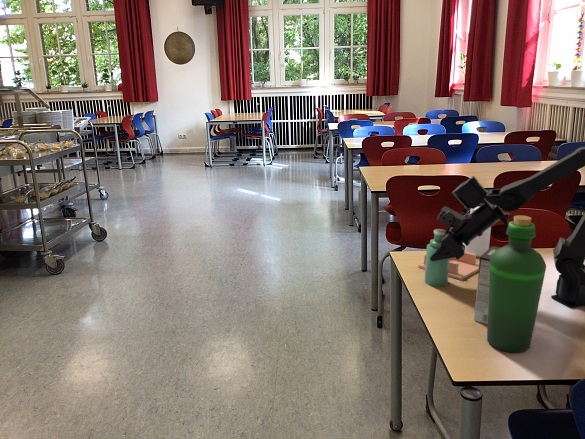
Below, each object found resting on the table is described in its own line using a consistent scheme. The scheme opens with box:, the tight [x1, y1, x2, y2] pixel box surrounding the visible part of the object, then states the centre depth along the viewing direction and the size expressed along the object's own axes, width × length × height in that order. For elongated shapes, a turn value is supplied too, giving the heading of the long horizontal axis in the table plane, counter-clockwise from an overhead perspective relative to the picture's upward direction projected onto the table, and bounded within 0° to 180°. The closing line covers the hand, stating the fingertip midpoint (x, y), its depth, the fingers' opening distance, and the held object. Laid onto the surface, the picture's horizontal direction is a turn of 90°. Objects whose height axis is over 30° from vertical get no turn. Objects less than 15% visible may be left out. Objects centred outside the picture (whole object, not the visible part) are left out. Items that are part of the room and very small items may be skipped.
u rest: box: [418, 252, 479, 281], centre depth 147 cm, size 14×14×4 cm
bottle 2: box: [486, 214, 547, 353], centre depth 101 cm, size 11×11×28 cm
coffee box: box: [473, 245, 501, 325], centre depth 114 cm, size 9×6×16 cm
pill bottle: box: [463, 206, 492, 258], centre depth 157 cm, size 8×8×15 cm
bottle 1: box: [424, 228, 450, 288], centre depth 135 cm, size 6×6×15 cm
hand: (432, 255), depth 135 cm, fingers closed on bottle 1, 6 cm apart
